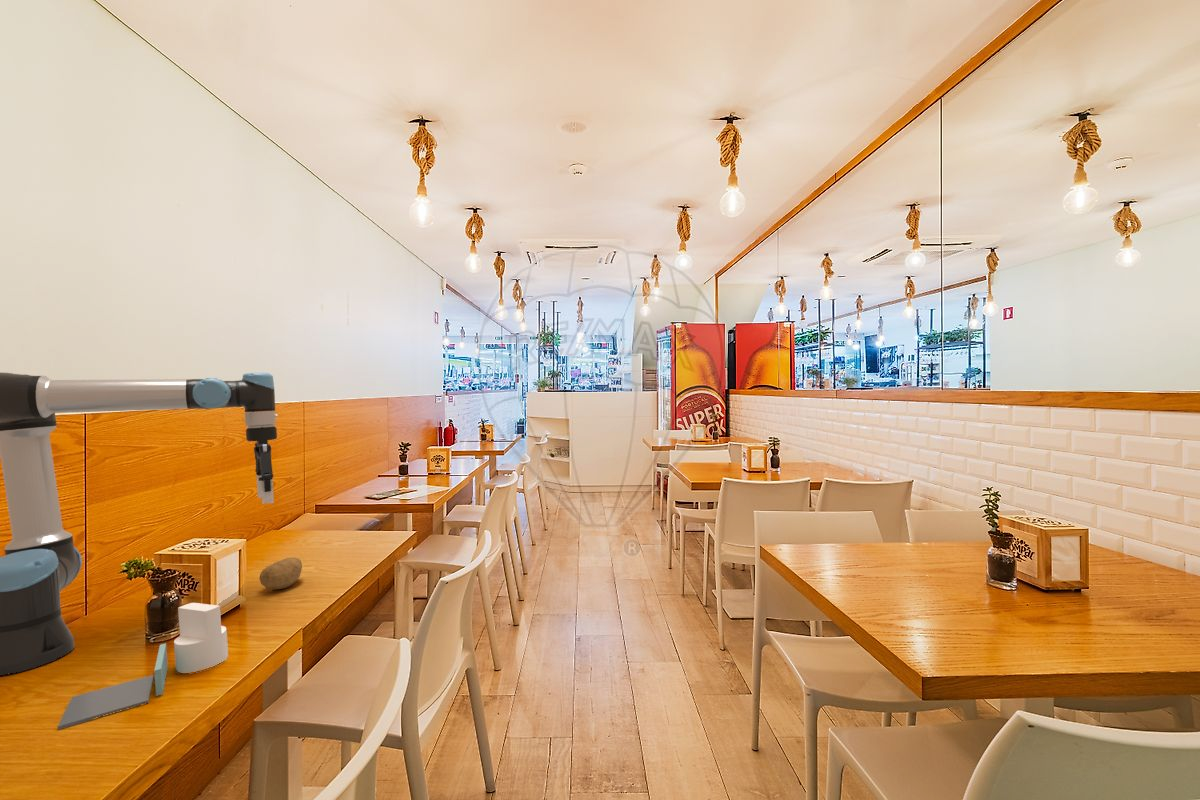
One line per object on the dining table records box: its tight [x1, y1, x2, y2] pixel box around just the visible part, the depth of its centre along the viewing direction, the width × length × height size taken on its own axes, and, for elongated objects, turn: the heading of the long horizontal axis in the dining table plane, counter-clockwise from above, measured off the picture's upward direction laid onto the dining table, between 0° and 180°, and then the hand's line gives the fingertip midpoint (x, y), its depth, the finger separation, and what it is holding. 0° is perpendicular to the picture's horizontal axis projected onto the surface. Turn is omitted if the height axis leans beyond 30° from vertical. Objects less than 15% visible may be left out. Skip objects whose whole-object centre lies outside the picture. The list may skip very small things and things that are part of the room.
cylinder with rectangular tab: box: [173, 602, 229, 674], centre depth 115 cm, size 9×9×12 cm
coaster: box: [57, 674, 155, 730], centre depth 102 cm, size 12×12×1 cm
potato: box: [259, 557, 303, 590], centre depth 162 cm, size 10×14×8 cm
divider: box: [153, 643, 169, 697], centre depth 109 cm, size 1×14×5 cm, turn 35°
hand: (265, 500), depth 157 cm, fingers open, 13 cm apart
